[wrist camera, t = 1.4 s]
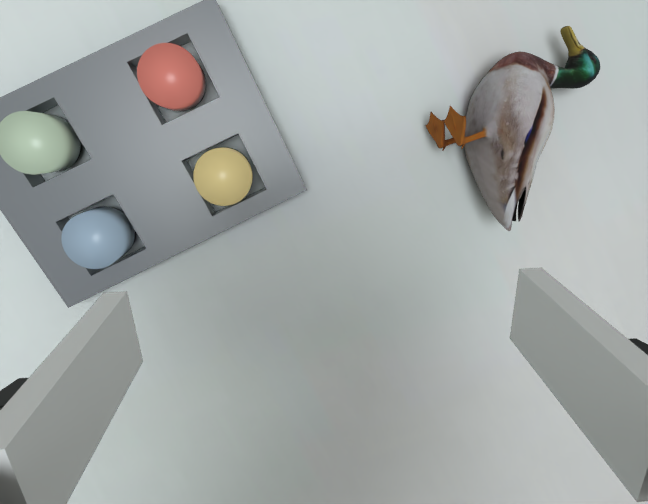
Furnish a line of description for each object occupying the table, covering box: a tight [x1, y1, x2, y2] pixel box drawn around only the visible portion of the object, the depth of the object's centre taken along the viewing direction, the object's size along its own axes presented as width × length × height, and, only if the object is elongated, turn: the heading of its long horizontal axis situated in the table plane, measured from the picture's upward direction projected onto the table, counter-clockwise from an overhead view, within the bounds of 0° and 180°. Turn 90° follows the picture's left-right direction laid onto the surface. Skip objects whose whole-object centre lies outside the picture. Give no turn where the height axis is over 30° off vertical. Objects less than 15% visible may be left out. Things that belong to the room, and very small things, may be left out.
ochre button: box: [193, 148, 253, 206], centre depth 36 cm, size 4×4×3 cm
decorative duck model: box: [426, 26, 600, 231], centre depth 38 cm, size 15×8×15 cm
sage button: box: [0, 111, 80, 174], centre depth 34 cm, size 4×4×3 cm
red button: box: [137, 43, 206, 111], centre depth 34 cm, size 4×4×3 cm
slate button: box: [61, 207, 135, 269], centre depth 36 cm, size 4×4×3 cm
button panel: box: [0, 0, 307, 308], centre depth 36 cm, size 22×16×2 cm
